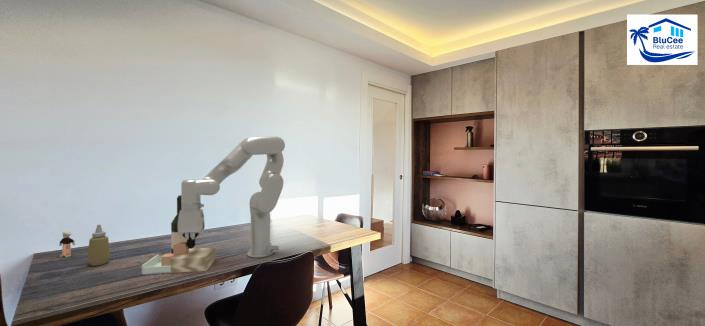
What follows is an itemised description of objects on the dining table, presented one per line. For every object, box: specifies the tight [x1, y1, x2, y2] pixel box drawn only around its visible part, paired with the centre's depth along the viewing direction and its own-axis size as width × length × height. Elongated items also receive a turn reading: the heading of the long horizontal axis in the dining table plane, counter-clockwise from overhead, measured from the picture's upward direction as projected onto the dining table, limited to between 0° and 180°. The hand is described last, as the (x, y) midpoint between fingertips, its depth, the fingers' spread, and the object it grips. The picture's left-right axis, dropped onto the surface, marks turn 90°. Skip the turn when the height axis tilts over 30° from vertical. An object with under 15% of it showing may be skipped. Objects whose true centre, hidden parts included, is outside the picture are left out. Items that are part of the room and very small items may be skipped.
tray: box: [141, 254, 172, 276], centre depth 128 cm, size 11×14×4 cm
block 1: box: [160, 253, 175, 266], centre depth 129 cm, size 5×4×4 cm
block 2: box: [173, 242, 189, 255], centre depth 130 cm, size 5×4×4 cm
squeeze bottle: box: [86, 224, 111, 267], centre depth 133 cm, size 8×8×18 cm
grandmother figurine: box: [58, 230, 76, 258], centre depth 144 cm, size 8×4×13 cm, turn 102°
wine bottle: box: [170, 195, 192, 254], centre depth 146 cm, size 8×8×30 cm
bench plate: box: [170, 246, 217, 274], centre depth 131 cm, size 14×14×6 cm
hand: (191, 247), depth 130 cm, fingers closed
